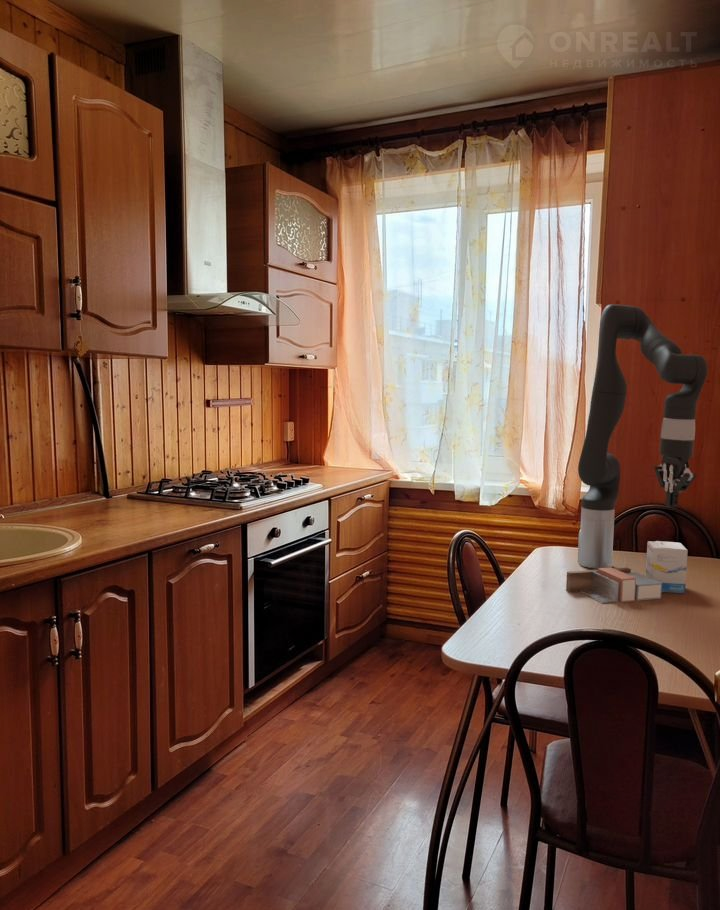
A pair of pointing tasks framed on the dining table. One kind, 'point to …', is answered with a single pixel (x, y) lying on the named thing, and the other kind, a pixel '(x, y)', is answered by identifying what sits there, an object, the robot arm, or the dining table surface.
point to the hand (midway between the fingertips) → (671, 506)
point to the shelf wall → (584, 579)
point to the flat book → (646, 587)
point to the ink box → (667, 565)
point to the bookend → (602, 589)
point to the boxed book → (621, 583)
